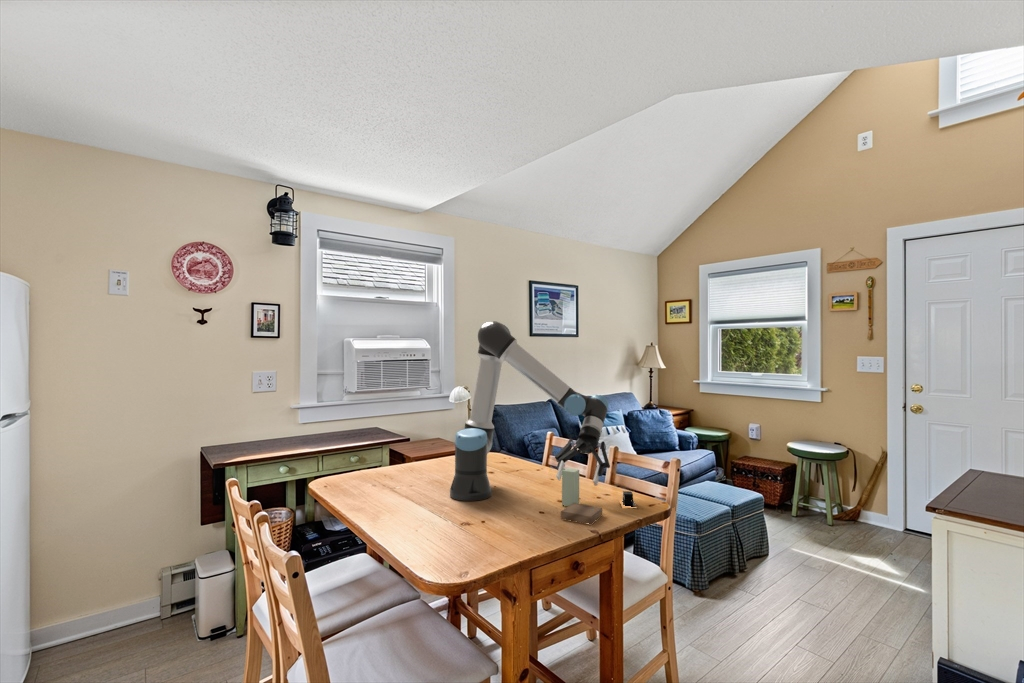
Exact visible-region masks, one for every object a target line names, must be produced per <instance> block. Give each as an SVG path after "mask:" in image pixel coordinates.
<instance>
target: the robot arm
mask: <svg viewBox="0 0 1024 683" xmlns="http://www.w3.org/2000/svg"><path fill="white" fill-rule="evenodd" d="M477 341H478V345H479V346H478V351H477V355H478V357H479V358H480V360H479V361H480V362H479V366H478V372H477V378H476V383H475V390H474V395H473V400H472V406H471V412H470V417H469V419H467V420H465V423H464V428H463V429H461V430H459V431H457V432H456V434H455V438H454V448H455V449H454V477H453V479H452V482H451V484H450V489H449V496H450V498H452V499H454V500H457V501H463V502H475V501H482V500H487V499H488V498H490V497H491V496H492V487H491V483H490V480H489V477H488V472H487V471H488V468H487V467H488V454H489V453H490V452H491V450H492V448H493V444H494V438H493V437H494V431H495V425H494V423H493V421H492V420H493V414H494V409H495V405H496V399H497V393H498V386H499V381H500V375H501V370H502V364H503V363H504V361H505V362H506V363H508V365H510V366H512V367H513V368H514V369H515V370H516V371H518V373H520V374H521V375H522V376H524V377H525V378H526V379H527V380H529V382H531V383H532V384H533V385H534V386H535V387H537V388H538V389H539V390H541V392H543V393H544V394H545V395H547V396H548V397H549V398H550V399H551V400H552V401H554V402H555V403H556V405H558V406H560V407H561V408H562V409H564V411H565V412H566V413H567V414H569V415H570V416H575V417H576V416H580V415H581V416H583V417H584V418H583V421H582V425H581V428H580V430H579V434H578V436H577V437H578V438H577V439H576V440H573V439H572V437H571V438H569V439H568V441H567V443H566V444H565V445H564V446H563V447H562V448H561V450H559V451H558V452H557V454H555V456H554V459H555V461H556V462H557V466H556V470H557V472H556V480H558V481H562V470H564V469H565V466H566V464H565V463H566V462H568V461H569V460H571V459H572V458H573V457H575V456H576V455H579V454H587V455H590V454H592V455H593V457H594V459H595V460H596V462H597V463H598V464H597V465H596V468H595V472H594V475H593V480H592V482H593V485H594V486H598V483H599V480H600V477H602V476H603V473H604V470H605V469H609V468H611V465H610V464H611V463H610V461H609V457H608V454H607V451H606V450H607V446H606V442H605V441H601V442H600V438H601V433H602V431H603V427H604V423H605V420H606V417H607V413H608V410H609V409H608V408H609V404H610V402H609V401H608V399H607V397H605V396H604V395H601V394H599V395H598V394H593V395H592V396H591V397H589V396H586V395H584V394H582V393H580V392H577V391H576V390H574V389H573V388H571V387H570V386H569V385H568V384H567V383H565V381H564V380H562V379H561V378H559V377H558V376H557V375H556V374H555V373H553V372H552V371H551V370H550V369H549V368H548V367H546V366H545V365H544V364H543V363H541V361H539V360H538V359H537V358H535V356H533V355H531V354H530V353H529V352H528V351H527V350H525V349H524V348H523V347H522V346H521V345H519V343H518V341H517V338H516V337H515V336H513V335H512V334H511V331H510V329H509V328H508V327H507V326H506V325H505V324H503V323H501V322H499V321H493V320H492V321H491V320H490V321H487V322H485V323H483V324H482V326H480V328H479V329H478V332H477ZM598 448H599V449H600V450H601V454H602V457H603V460H604V461H602V459H601V457H600V455H599V454H598V453H597V451H596V450H597V449H598Z"/></svg>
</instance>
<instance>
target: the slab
mask: <svg viewBox="0 0 1024 683" xmlns="http://www.w3.org/2000/svg"><path fill="white" fill-rule="evenodd" d="M601 515H602V516H603V507H599V506H593V505H587V504H582V503H579V504H577V503H572V504H571V505H569V506H568V507H565V508H564V509H562V510H561V511H560V520H562V519H566V520H565V521H567V520H571V521H570V522H572V521H577V522H582V523H581V524H583V523H589V524H592V523H593V522H594V521H595V520H597V519H598V518H599V517H600V516H601ZM602 516H601V517H602ZM601 517H600V518H601ZM600 518H599V519H600ZM599 519H598V520H599ZM598 520H597V521H598ZM577 522H576V523H577ZM595 522H596V521H595ZM595 522H594V523H595ZM594 523H593V524H594ZM593 524H592V525H593Z"/></svg>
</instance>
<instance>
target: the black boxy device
mask: <svg viewBox="0 0 1024 683" xmlns="http://www.w3.org/2000/svg"><path fill="white" fill-rule="evenodd" d="M622 500H623V501H622V502H623V505H625V506H631V507H636V505H637V504H636V502H635V500H634V494H633V491H628V490H623V491H622ZM634 502H635V503H634ZM635 504H636V505H635Z"/></svg>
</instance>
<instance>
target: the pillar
mask: <svg viewBox="0 0 1024 683" xmlns="http://www.w3.org/2000/svg"><path fill="white" fill-rule="evenodd" d="M572 503H577V504H580V469H579V468H569V467H567V468H564V470H562V476H561V506H562V505H564V506H563V507H565V506H569V505H571V504H572Z"/></svg>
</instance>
